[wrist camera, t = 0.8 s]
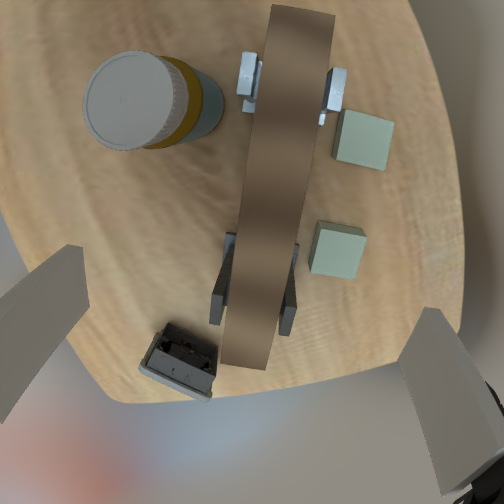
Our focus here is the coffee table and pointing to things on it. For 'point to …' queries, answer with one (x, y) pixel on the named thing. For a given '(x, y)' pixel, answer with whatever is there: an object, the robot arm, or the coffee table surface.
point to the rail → (275, 178)
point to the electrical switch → (181, 363)
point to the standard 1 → (223, 285)
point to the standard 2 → (251, 82)
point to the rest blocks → (361, 153)
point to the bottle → (149, 102)
